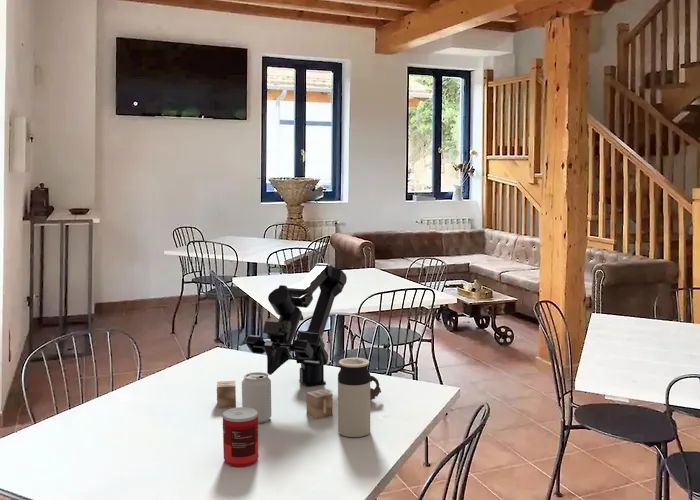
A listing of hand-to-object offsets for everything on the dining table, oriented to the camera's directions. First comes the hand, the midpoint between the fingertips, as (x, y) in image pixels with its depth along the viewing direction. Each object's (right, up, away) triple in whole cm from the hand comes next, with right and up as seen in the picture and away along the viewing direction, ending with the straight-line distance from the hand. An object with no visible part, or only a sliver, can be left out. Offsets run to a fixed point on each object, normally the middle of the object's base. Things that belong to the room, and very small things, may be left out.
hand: (269, 373), depth 184 cm
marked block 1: (-13, -10, +7) cm, 17 cm away
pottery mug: (+25, -9, +11) cm, 29 cm away
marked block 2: (+14, -11, -2) cm, 17 cm away
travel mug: (+23, -12, -14) cm, 29 cm away
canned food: (-3, -14, -30) cm, 34 cm away
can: (-3, -11, -5) cm, 13 cm away
